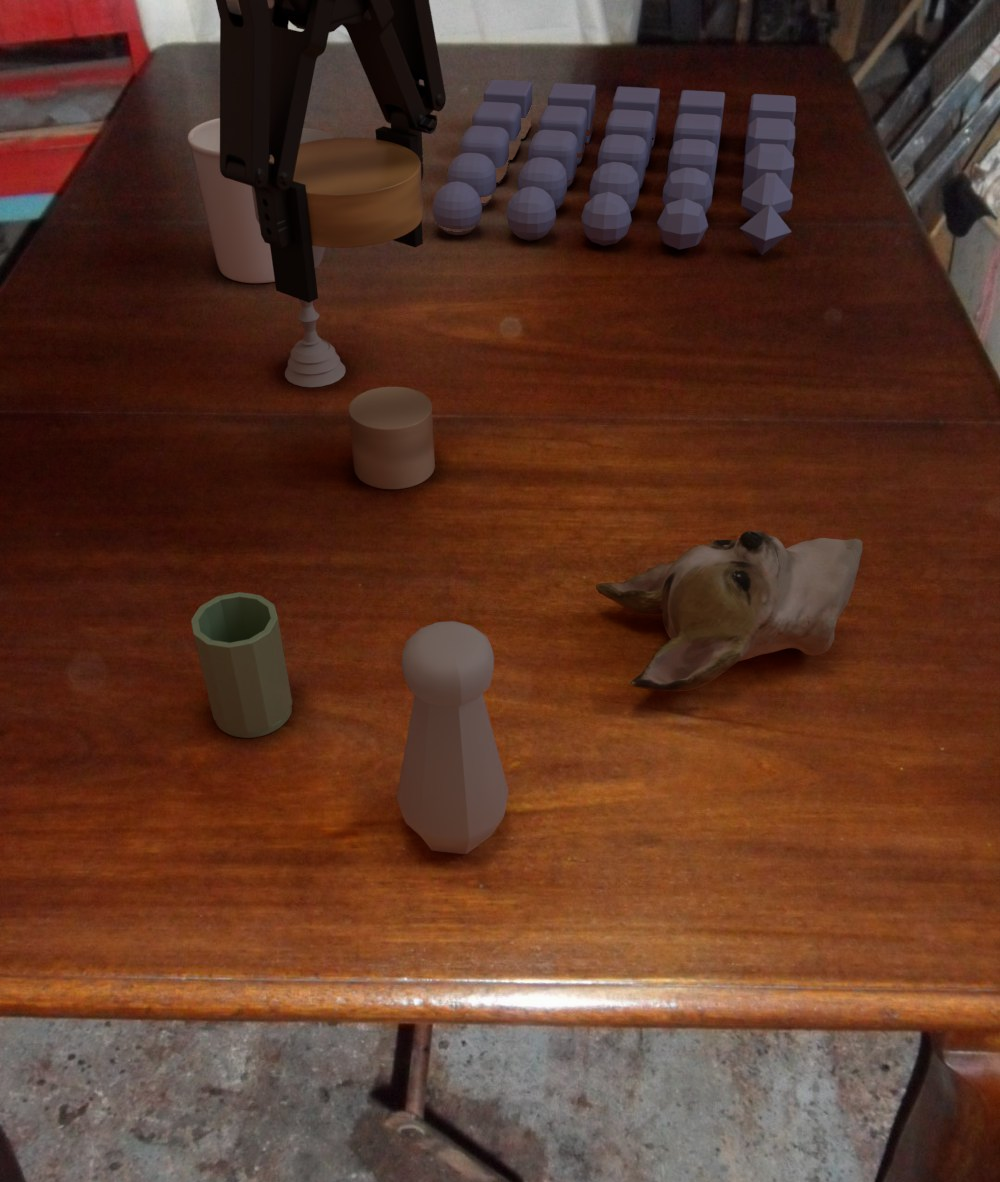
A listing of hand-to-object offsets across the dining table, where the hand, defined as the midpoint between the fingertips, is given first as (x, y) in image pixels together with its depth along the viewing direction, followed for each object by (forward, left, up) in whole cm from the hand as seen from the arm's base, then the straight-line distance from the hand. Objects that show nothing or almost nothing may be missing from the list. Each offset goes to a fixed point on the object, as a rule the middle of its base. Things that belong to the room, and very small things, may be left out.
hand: (351, 266), depth 73 cm
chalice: (-20, 0, -18) cm, 27 cm away
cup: (+19, -11, -17) cm, 28 cm away
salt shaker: (+31, -2, -18) cm, 36 cm away
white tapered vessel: (-42, -1, -18) cm, 46 cm away
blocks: (-50, +39, -18) cm, 66 cm away
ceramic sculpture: (+22, +18, -18) cm, 33 cm away
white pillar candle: (-4, +3, -17) cm, 18 cm away
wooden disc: (0, 0, +3) cm, 3 cm away
